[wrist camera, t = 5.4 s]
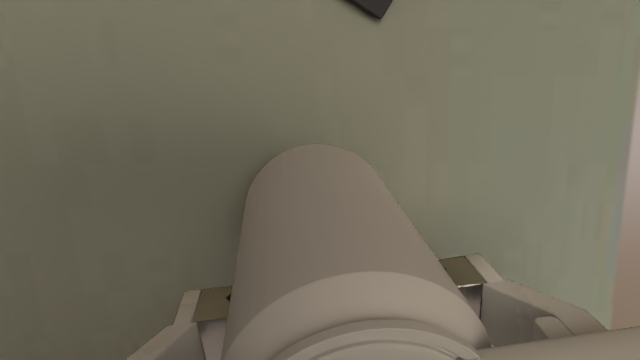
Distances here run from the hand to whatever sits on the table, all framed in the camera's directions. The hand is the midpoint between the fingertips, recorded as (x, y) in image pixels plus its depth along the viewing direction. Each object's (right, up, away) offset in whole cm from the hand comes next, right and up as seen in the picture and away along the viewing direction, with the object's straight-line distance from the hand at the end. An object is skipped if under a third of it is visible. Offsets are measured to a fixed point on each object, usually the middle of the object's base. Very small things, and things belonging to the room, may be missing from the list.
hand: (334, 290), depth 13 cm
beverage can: (-1, +2, +6) cm, 7 cm away
